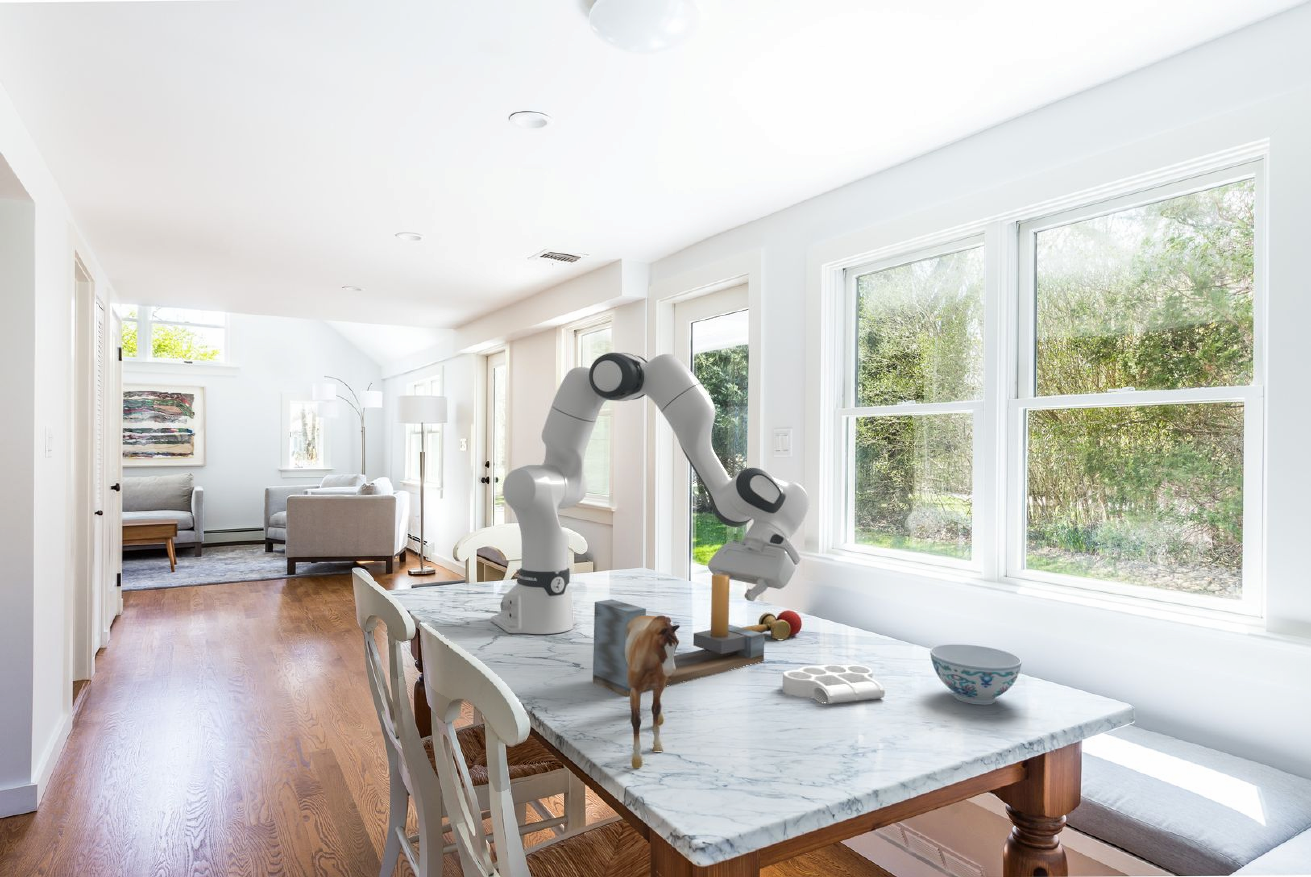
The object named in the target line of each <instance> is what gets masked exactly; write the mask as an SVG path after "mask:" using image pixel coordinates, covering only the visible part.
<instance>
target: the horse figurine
mask: <svg viewBox="0 0 1311 877" xmlns="http://www.w3.org/2000/svg"><path fill="white" fill-rule="evenodd" d="M671 623H672V620H671V618H670V617H669V616H666V615H656V616H655V615H647V614H646V615H645V616H639V617H637V618H634V619H633V620H631V621H630V622H629V624H628V626H627V640H626V644H625V658H626V662H627V664H628V665H629V669H628V675H627V678H628V683H629V686H630V688H631V691H630V696H629V705H630V706H629V707H630V711H631V712H630V713H631V715H630V716H631V717H630V722H631V726H632V729H633V744H632V745H633V746H632V750H633V754H632V759H631V767H632V768H633V769H640V768H641V767H642V765H643V756H642V754H641V753H640V752H641V750H642V749H641V748H642V745H641V740H640V728H641V725H642V719H641V713H642V712H641V696H642V693H644V692H643V691H644V690H645V689H647V688H648V687H650V686H652V688H653V690H652V704H651V709H650V710H651V714H652V732H651V733H652V735H653V741H652V744H653V746H652V751H653V750H654V751H662V752H664V749H663V746H662V740H661V738H660V734H661V729H660V726H662V725H663V724H664V722H665V718H664V714H663V711H662V708H663V704H662V701H661V697H662V694H663V691H664V689H665V684H666V681H668V682H672V681H671V680H670V679H668V678H671V677H673V672H674V671H675V670H676V667H675V663H674V656H675V653H676V650H677V647H678V645H679V643H680V640H679V639H678V638H677V637H678V636H677V635H676V632H677V630H678V629H679V628H680V627H681V625H680V624H677V625H676V624H675V625H672V624H671ZM654 751H653V752H654ZM639 767H640V768H639Z"/></svg>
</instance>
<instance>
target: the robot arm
mask: <svg viewBox="0 0 1311 877" xmlns="http://www.w3.org/2000/svg"><path fill="white" fill-rule="evenodd" d="M645 396H647V397H648V398H650V400H651V401H652V402H653V403H654V404H655V405H656V407H657V408H658V410H659V412H661V414H662V415H663V417H664V418H665V419H666V421H667V422H668V425H670V427H671V429H672V431H673V432H674V433H675V436H676V438H677V441H678V442H679V445H680V447H681V451H682V452H683V453H684V456H685V457H686V459H687V461H688V462H689V464H690V466H691V467H692V469H693V471H694V472H695V474H696V475H697V477H698V479H699V480H700V483H701V484H702V485H703V487H704V490H705V491H706V494H707V495H708V497H709V500H710V504H711V509H712V512H713V514H714V515H715V517H716V518H717V519H718V520H719V522H721V523H722V524H723V525H725V526H728V527H730V528H731V527H732V528H739V527H743V526H746V525H747V524H748V523H750V521H751V520H753V523H752V524H751V526H750V527H749V529H748V531H747V532H746V534H745V535H744V536H743V538H742V540H741V541H738V540H735V539H734V540H731V541H729V542H726V543H724V544H723V545H722V546H720V547H719V548H718V550H717V551H716V552H715V553H714V554H713V555H712V556H711V558H710V559H709V561H708V563H707V568H708V569H709V571H710V572H711V573H712V575H715V574H724V575H729V576H730V580H732V581H736V582H741V583H748V584H752V585H754V586H753V587H752V588H748V589H747V590H746V592H745V593H744V599H746V601H749V602H754V601H756V599H757V597H758V596H760V595H761V594H762V593H764V592H765V591H767V589H768V588H772V589H777V590H781V589H783V588H785V587H786V586H787V585H788V584H789V582H790V581H791V579H792V577H793V575H794V573H795V571H796V568H797V567H796V565H798V564H799V563H800V561H801V556H800V554H799V553H798V551H797V549H796V548H795V547H794V545H793V543H792V542H791V537H792V536H793V535H794V534H795V533H796V532H797V531H798V530H799V528H800V526H801V524H802V523H803V521H804V519H805V518H806V515H807V512H808V509H809V508H810V497H809V495H808V493H807V491H806V489H804V487H803V486H802V485H801V484H799V483H797V482H795V481H794V480H790V479H789V480H782V479H779V478H776V477H773V476H772V475H770V474H768V473H767V472H766V471H764V470H763V469H760V468H758V467H748V468H745V469H743V470H741V472H739V473H738V474H736V475H735V476H734V477H733V478H731V476H729V474H728V472H727V470H726V469H725V467H724V465H723V464H722V463H721V461H720V459H719V457H718V456H717V454H716V453H715V451H714V448H713V445H712V433H713V432H712V430H713V426H714V422H715V419H716V407H715V403H714V402H713V400H712V398H711V396H710V394H709V393H708V391H707V390H706V389H705V387H704V386H703V384H702V383H701V382H700V380H699V379H698V378H697V377H696V376H695V374H694V373H693V372H692V371H691V370H690V369H689V368H688V366H686V365H685V364H684V362H682V361H681V360H680V359H679V358H678V357H677V356H676V355H673V354H671V353H670V354H669V353H663V354H660V355H657V356H656V357H655V356H654V357H653V358H652V359H651V360H649V361H647V360H646V359H645V358H643V357H642V356H640V355H635V354H633V353H628V352H607V353H605V354H602V355H600V356H598V357H597V358H596V359H595V360H594V361H593V363H592V364H591V366H590V368H589V367H585V366H584V367H583V366H577V367H574V368H571V369H570V370H569V371H568V372H567V373H566V375H565V377H564V378H563V380H562V382H561V384H560V386H559V388H558V390H557V391H556V394H555V396H554V399H553V401H552V404H551V405H550V406H551V407H550V409H549V412H548V415H547V418H546V420H545V422H544V426H543V429H542V431H541V440H542V442H543V443H544V445H545V454H544V456H545V457H544V459H543V463H542V464H527V465H524V466H520V467H517V468H516V469H513V470H511V471H510V472H508V474H507V475H506V477H505V478H504V481H503V484H502V494H503V498H504V501H505V502H506V503H507V505H508V506H509V507H510V508H511V509H512V510H513V512H514V514H515V516H516V519H517V523H518V526H519V530H520V536H521V537H520V538H521V566H520V568H519V569H516V570H515V571H516V575H517V578H516V584H515V585H514V586H513V587H512V588H511V589H510V590H509V591H508V592H507V593H506V594H505V595H504V596H502V599H501V601H500V614H495V615H492V616H491V617H490V622H491V623H494V624H495V625H496V626H498V627H499V628H500V629H502V630H504V631H505V632H506V633H508V634H528V635H529V634H531V635H550V634H552V635H553V634H559V633H564V632H568V631H571V630H572V629H574V625H576V624H577V623H578V618H576V617H575V616H574V601H573V599H574V598H573V591H572V589H571V588H570V586H569V584H570V579H571V578H570V577H571V574H570V572H571V570H570V568H569V536H568V534H567V532H566V531H565V530H564V529H563V528H562V526H561V523H560V519H559V516H558V510H564V509H568V508H570V507H572V506H575V505H577V504H579V503H581V501H582V500H584V498H585V497H586V494H587V491H588V482H587V478H586V476H585V474H584V463H585V456H586V451H587V448H588V446H589V442H590V438H591V436H592V433H593V430H594V428H595V424H596V421H597V420H598V416H599V414H600V410H601V408H602V407H603V405H604V403H606V401H617V402H628V401H633V400H639V399H642V398H643V397H645ZM710 590H712V587H711V589H710Z"/></svg>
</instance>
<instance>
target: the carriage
mask: <svg viewBox="0 0 1311 877" xmlns="http://www.w3.org/2000/svg"><path fill="white" fill-rule="evenodd" d="M730 580H731V579H730V576H729V575H724V574H715V575H713V574H712V575H711V588H712V589H711V596H710V597H711V600H710V601H711V607H710V611H711V612H710V629H709V630H704V631H698V632H694V633H693V638H692V639H693V640H692V642H693V643H692V645H693V646H694V647H696V648H701V649H702V650H703V649H706V650H710V651H713V652H716V653H719V654H724V653H728V652H733V651H737V650H742V649H746V636H743V635H739V634H736V633H732V632H728V631H729V625H730V622H729V621H730V620H729V619H730Z"/></svg>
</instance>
